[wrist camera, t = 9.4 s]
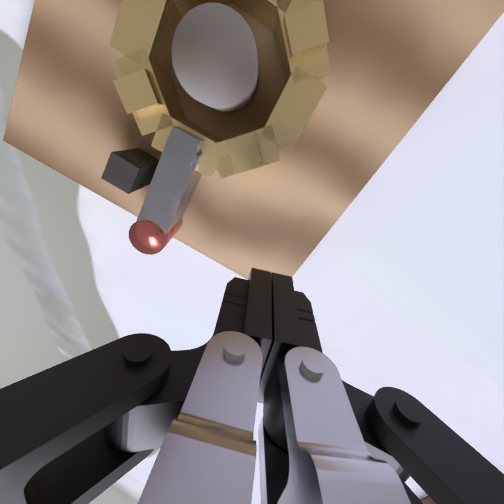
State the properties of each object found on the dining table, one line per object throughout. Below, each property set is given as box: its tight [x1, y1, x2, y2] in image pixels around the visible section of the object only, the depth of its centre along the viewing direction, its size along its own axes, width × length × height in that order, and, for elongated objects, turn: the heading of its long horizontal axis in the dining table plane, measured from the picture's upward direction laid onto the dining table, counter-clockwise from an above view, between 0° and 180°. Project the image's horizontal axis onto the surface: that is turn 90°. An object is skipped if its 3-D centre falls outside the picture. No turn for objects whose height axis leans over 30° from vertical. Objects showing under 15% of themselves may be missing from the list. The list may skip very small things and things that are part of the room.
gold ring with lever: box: [109, 0, 331, 254], centre depth 17 cm, size 11×18×5 cm, turn 152°
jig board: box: [3, 0, 504, 279], centre depth 16 cm, size 24×24×6 cm
